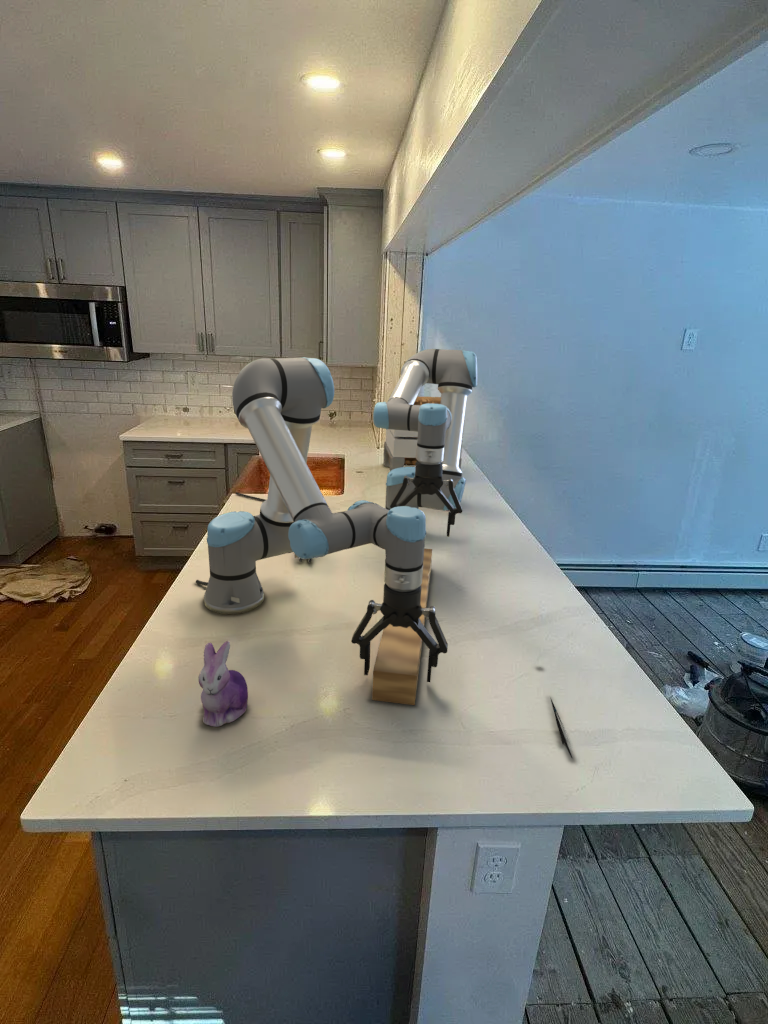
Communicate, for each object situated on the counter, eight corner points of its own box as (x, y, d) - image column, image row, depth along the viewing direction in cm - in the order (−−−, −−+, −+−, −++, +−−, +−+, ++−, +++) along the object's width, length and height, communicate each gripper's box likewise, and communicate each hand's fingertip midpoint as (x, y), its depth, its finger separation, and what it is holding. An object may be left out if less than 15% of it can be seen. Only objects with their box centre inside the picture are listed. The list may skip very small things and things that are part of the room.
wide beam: (402, 567, 174) (403, 546, 172) (430, 570, 173) (432, 549, 171) (371, 700, 115) (373, 670, 112) (414, 705, 114) (416, 675, 111)
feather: (540, 672, 128) (545, 666, 127) (572, 762, 101) (579, 755, 101) (533, 668, 128) (539, 662, 127) (564, 758, 101) (571, 750, 100)
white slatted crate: (382, 463, 289) (386, 382, 275) (445, 464, 293) (451, 384, 279) (390, 482, 257) (394, 392, 243) (460, 483, 261) (468, 394, 247)
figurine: (205, 736, 103) (200, 666, 98) (195, 702, 111) (189, 636, 106) (256, 721, 107) (254, 653, 102) (243, 690, 116) (239, 626, 111)
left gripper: (338, 586, 111) (336, 678, 118) (465, 598, 108) (455, 692, 115) (345, 570, 118) (343, 658, 125) (465, 581, 115) (456, 670, 122)
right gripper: (383, 461, 153) (379, 534, 160) (476, 467, 151) (468, 541, 158) (385, 455, 160) (382, 525, 167) (474, 461, 158) (467, 531, 165)
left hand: (397, 674), depth 120 cm, fingers open, 12 cm apart
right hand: (424, 533), depth 163 cm, fingers open, 13 cm apart
